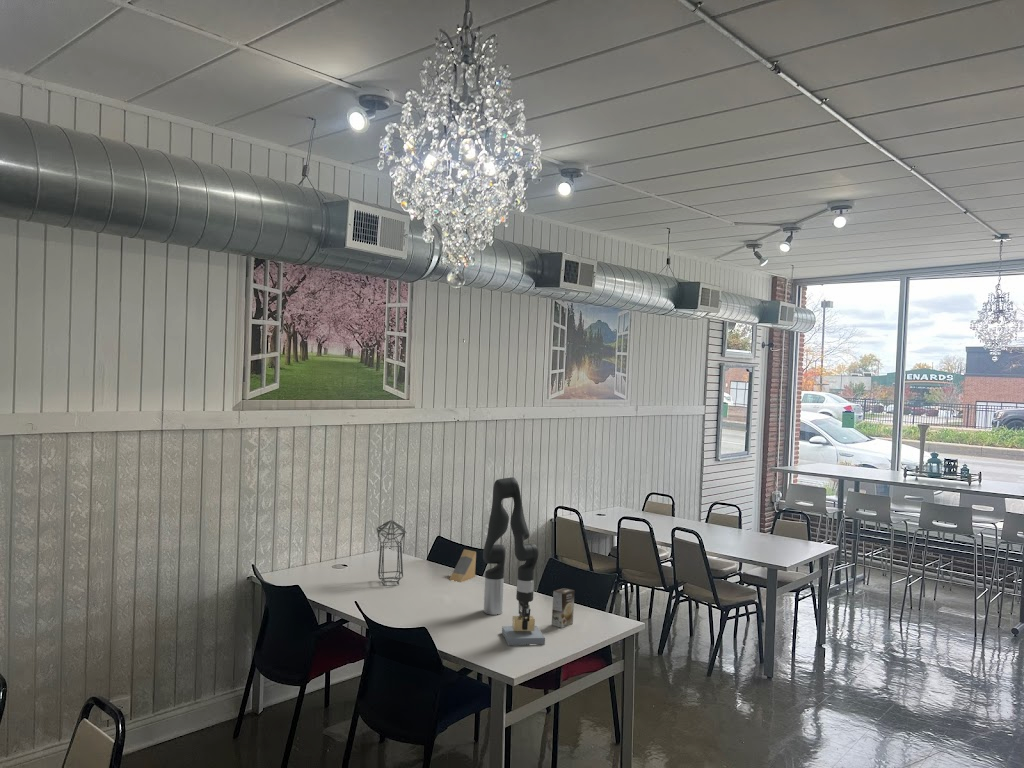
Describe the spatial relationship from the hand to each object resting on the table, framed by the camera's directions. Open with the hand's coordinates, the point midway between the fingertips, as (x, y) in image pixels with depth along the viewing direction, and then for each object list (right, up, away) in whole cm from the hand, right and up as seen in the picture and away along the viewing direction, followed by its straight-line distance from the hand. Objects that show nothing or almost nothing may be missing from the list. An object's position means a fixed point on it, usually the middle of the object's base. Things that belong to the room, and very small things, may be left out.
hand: (523, 627), depth 328 cm
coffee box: (+19, -6, +22) cm, 30 cm away
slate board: (0, -5, 0) cm, 5 cm away
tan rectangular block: (0, -1, 0) cm, 1 cm away
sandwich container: (-34, -4, +95) cm, 101 cm away
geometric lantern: (-73, -2, +78) cm, 107 cm away
